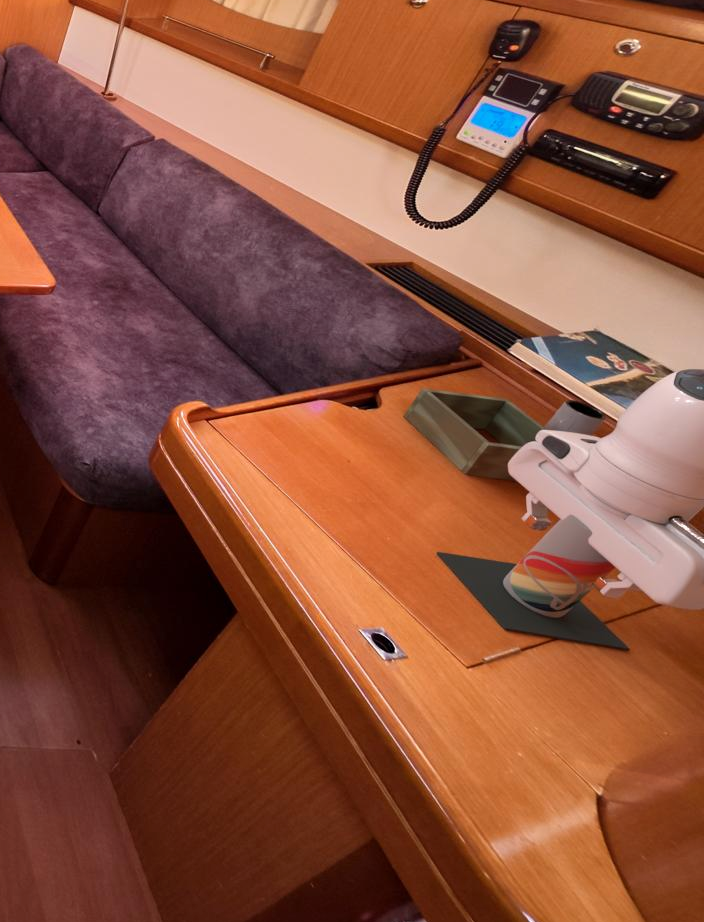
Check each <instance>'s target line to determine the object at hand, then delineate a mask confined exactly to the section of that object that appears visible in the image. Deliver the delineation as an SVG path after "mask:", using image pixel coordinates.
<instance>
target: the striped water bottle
mask: <svg viewBox="0 0 704 922" xmlns="http://www.w3.org/2000/svg"><path fill="white" fill-rule="evenodd" d="M591 535H592V531H591V530H590V529H589V528H588V527H587V526H586V525H585V524H584V523H582V522H581V521H580V520H579V519H577V518H576V517H575V516H573V515H568V516H567V517H566V518H565V519H563V520H561V519H560V518H559V520H558V521H557V522H556V523H555V524H554V525H553V526H552V527H551V528H550V529H549V530H548V531H547V532H546V533H545V534H544V536H542V537H541V539H539V541H538V542H537V543H536V544H535V545H534V546H533V547H532V548H531V549H530V550H529V551H528V552H527V553H526V554H525V555H524V556H523V557H522V559H521V560H519V561H518V563H516V564H517V565H516V566H515V567H514V568H513V569H512V570H511V571H510V572H509V573H508V575H507V576H506V577H505V578H504V581H503V584H504V587H505V588H506V590H507V591H508V592H509V594H510V595H511V596H512V597H514V598H515V599H516V600H517V601H518V602H520V603H521V604H523V605H524V606H526V607H527V608H529V609H531V610H533V611H535V612H537V613H539V614H541V615H544V616H547V617H552V618H559V617H561V616H563V615H565V614H566V613H567V612H568V611H569V610H570V609H571V608H573V607H574V606H575V605H576V604H577V603H578V602H579V601H581V600H582V599H584V598H585V597H586V596H587V595H588V594H589V593H590V592H591V591H592V590H593V589H594V588H595V587H594V586H593V585H592V583H593V582H596V579H597V578H598V577H605V578H607V576H608V575H609V574H610V573H612V572H613V571H614V570H615V569H617V568H616V567H615V566H614V565H612V564H611V563H610V562H609V561H608V560H607V559H606V558H604V557H603V556H602V555H601V554H600V553H599V552H598V551H596V550H595V549H594V548H593V547H592V546H591V545H590V544H589V543H588V539H589V538H590V536H591Z"/></svg>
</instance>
